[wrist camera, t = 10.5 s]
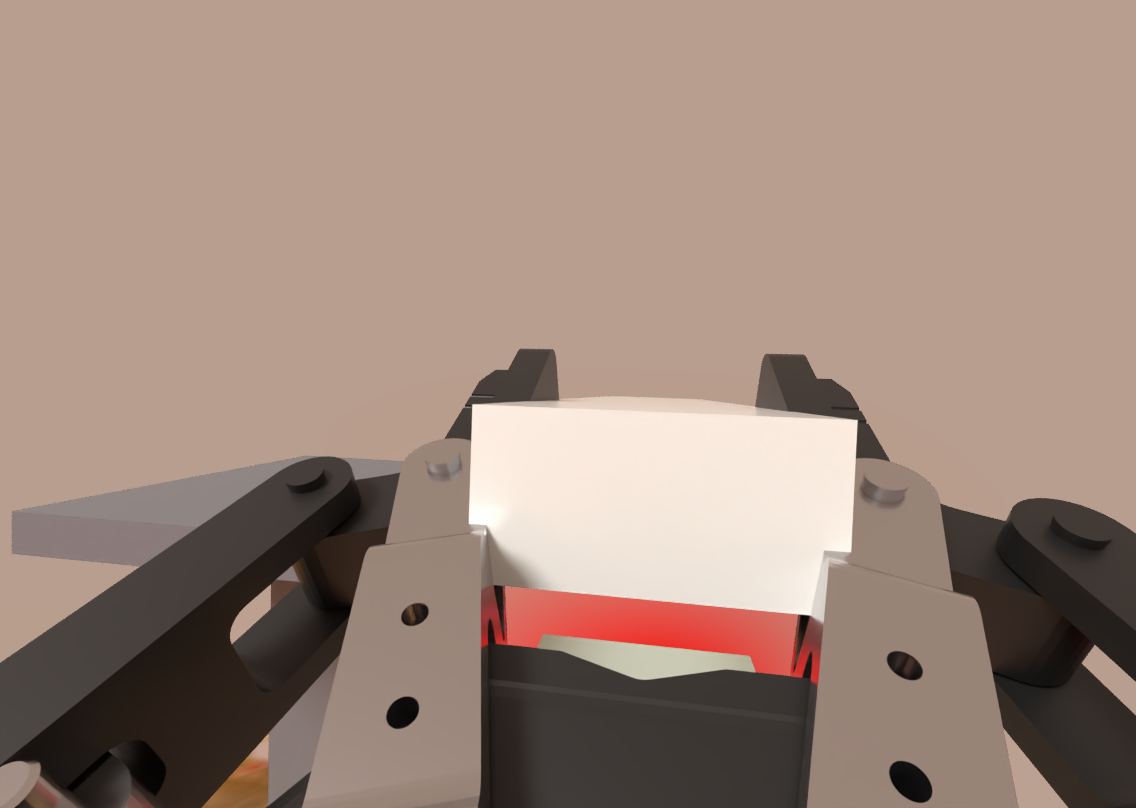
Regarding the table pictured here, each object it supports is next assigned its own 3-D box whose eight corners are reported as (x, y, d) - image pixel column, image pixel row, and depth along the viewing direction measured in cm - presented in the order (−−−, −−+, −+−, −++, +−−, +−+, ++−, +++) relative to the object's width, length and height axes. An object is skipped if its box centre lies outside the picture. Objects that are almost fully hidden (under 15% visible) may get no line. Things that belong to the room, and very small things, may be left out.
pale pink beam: (847, 618, 6) (857, 420, 6) (466, 582, 7) (472, 404, 7) (696, 441, 28) (697, 399, 28) (611, 437, 28) (612, 396, 28)
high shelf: (335, 1499, 18) (354, 539, 17) (-10, 1364, 20) (-12, 509, 19) (495, 943, 35) (509, 462, 34) (303, 904, 38) (311, 451, 37)
